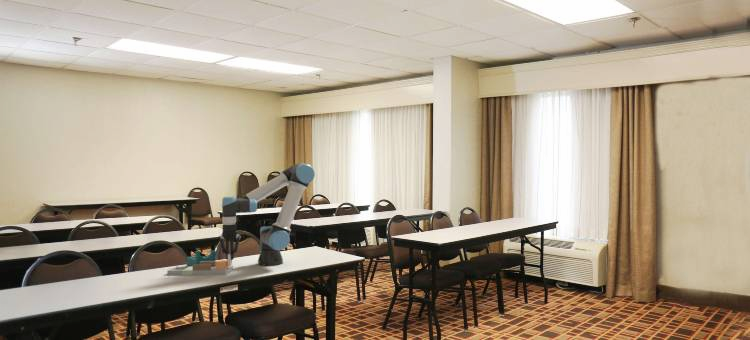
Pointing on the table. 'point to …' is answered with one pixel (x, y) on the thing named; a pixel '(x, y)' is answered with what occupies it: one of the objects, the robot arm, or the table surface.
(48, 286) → the table surface
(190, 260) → the teal l-shaped bracket
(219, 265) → the block
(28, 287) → the table surface
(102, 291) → the table surface
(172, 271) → the deck
